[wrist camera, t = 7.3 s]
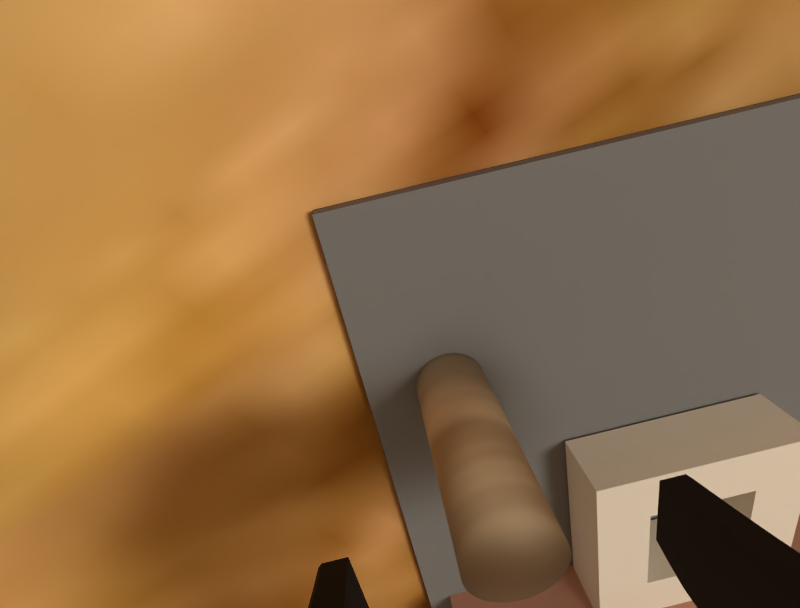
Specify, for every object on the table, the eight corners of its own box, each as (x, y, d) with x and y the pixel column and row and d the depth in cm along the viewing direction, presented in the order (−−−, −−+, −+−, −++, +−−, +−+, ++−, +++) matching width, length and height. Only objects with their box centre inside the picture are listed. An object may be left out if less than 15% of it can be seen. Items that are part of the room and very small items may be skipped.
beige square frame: (737, 527, 21) (783, 578, 19) (573, 567, 21) (600, 623, 19) (760, 393, 18) (819, 436, 16) (565, 441, 18) (596, 491, 16)
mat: (842, 546, 24) (853, 556, 24) (444, 644, 24) (446, 657, 24) (1011, 43, 14) (1038, 41, 13) (312, 210, 14) (311, 215, 13)
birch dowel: (488, 402, 17) (574, 587, 11) (422, 417, 17) (469, 613, 11) (479, 345, 16) (568, 514, 9) (409, 362, 16) (452, 543, 9)
